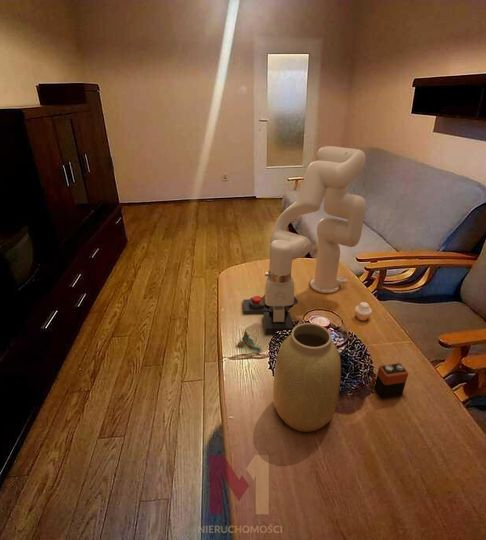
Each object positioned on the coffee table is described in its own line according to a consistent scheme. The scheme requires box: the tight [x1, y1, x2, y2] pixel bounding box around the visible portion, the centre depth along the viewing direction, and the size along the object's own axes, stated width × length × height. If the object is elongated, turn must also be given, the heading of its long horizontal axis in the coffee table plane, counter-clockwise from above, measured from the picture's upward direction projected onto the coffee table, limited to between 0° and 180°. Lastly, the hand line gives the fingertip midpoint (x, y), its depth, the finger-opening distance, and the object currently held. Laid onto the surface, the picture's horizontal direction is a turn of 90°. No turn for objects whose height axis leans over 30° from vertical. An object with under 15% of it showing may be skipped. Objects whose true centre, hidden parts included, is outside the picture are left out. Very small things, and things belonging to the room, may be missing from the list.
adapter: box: [262, 311, 294, 336], centre depth 129 cm, size 10×10×3 cm
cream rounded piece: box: [354, 301, 373, 321], centre depth 132 cm, size 6×6×7 cm
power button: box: [252, 295, 262, 304], centre depth 139 cm, size 4×4×2 cm
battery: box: [373, 362, 409, 399], centre depth 100 cm, size 4×7×10 cm, turn 100°
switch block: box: [242, 296, 269, 315], centre depth 140 cm, size 11×8×4 cm
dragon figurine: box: [236, 330, 260, 355], centre depth 120 cm, size 7×7×8 cm
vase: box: [272, 322, 342, 433], centre depth 90 cm, size 17×17×27 cm
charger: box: [272, 306, 285, 323], centre depth 127 cm, size 4×4×6 cm
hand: (278, 317), depth 128 cm, fingers closed on charger, 4 cm apart
